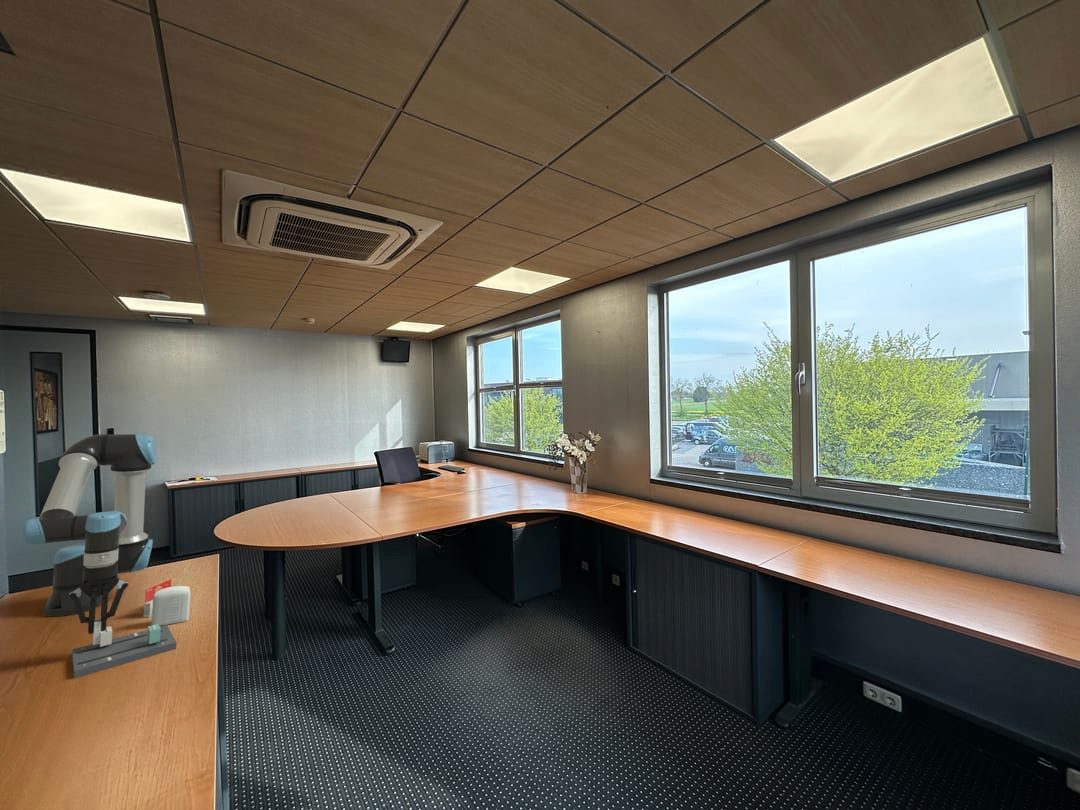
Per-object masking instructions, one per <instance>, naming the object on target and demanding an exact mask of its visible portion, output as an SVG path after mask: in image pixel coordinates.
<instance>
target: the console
mask: <svg viewBox="0 0 1080 810" xmlns="http://www.w3.org/2000/svg"><path fill="white" fill-rule="evenodd" d="M160 628H161V631H160V641H159V642H156V643H152V644H149V642H148V640H147V634H148V629H145V630H141V631H137V632H135V633H134V632H133V633H129V634H126V635H122V636H119V637H115V638H112V644H109V645H105V646H102V647H100V644H96V645H93V643H92V644H87V645H84V646H83V645H82V646H80V647H76V648H72V649H71V663H72V670H73V671H72V672H73V679H77V678H81V677H84V676H87V675H91V674H94V673H97V672H101V671H104V670H108V669H111V668H115V667H118V666H122V665H125V664H128V663H131V662H136V661H139V660H142V659H145V658H148V657H152V656H156V655H159V654H162V653H166V652H169V651H173V650H176V649H177V640H176V638H175V637H174V635H173V634H172V633H173V632H171V629H170V628H169V625H168V624H167V625H161V626H160Z"/></svg>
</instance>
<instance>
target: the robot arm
mask: <svg viewBox="0 0 1080 810" xmlns="http://www.w3.org/2000/svg"><path fill="white" fill-rule="evenodd" d="M157 454H158V453H157V447H156V442H155V438H154V437H153V436H151V435H149V434H138V433H137V434H136V433H135V434H134V433H132V434H127V433H126V434H125V433H123V434H118V433H117V434H103V433H102V434H94V435H90V436H86V437H85V438H82V439H80V440H78V441H77V442H74V443H73V444H72V445H70V446H69V448H67V449H66V450H65V451H64V452H63V454H62V455H61V456H60V459H59V461H58V466H59V468H60V469H59V471H58V474H57V476H56V477H55V480H54V482H53V485H52V487H51V489H50V492H49V495H48V497H47V499H46V502H45V504H44V506H43V508H42V511H41V513H40V516H39V517H36V518H31V519H30V518H29V519H28V520H27V521H25V523H24V524H23V527H22V530H21V531H22V534H21V539H22V541H23V543H24V544H26V545H40V544H41V545H44V544H45V545H46V544H53V543H61V542H69V541H81V540H84V541H83V542H77V543H74V544H70V545H66V546H64V547H62V548H59V549H58V550H57V551H56V552H55V554H54V555H55V556H54V559H53V560H54V561H53V563H52V564H53V578H52V590H51V591H52V592H51V593H50V595H49V598H48V599H47V601H46V603H45V605H44V606H43V607H44V609H43V615H44V616H46V617H64V616H65V617H66V616H71V615H76V614H77V615H78V618H79V619H78V620H79V622H80V624H88V626H87V633H88V635H92V644H93V645H96V644H100V635H101V631H104V630H105V629H106V627H107V620H108V619H109V618H112V617H115V616H116V613H117V610H118V607H119V604H120V602H121V598H122V596H123V594H124V591H125V590H126V589H127V587H128V586H129V583H128V581H126V580H125V581H123V580H120V577H119V576H118V575H119V574H121V575H122V574H128V573H130V574H132V573H134V572H140V571H143V570H145V569H146V568H147V567H148V564H149V560H150V556H151V553H152V548H153V543H154V542H153V541H154V540H153V539H152V538H151V539H150V538H149V534H147V533H146V532H144V526H145V525H144V523H145V500H146V496H145V495H146V477H147V472H149V471H150V470H152V465H155V464H157V460H158V459H157V458H158V457H157ZM98 466H99V467H100V466H110V470H109V471H110V472H111V473H113V474H114V475H115V481H114V507H113V509H114V510H111V511H102V512H101V511H100V512H99V511H98V512H95V513H91V514H84V515H76V514H77V511H78V508H79V505H80V504H81V500H82V497H83V495H84V492H85V489H86V487H87V484H88V481H89V478H90V475H91V472H93V471H94V470H96V468H97V467H98ZM115 587H116V588H117V590H116V592H115V595H114V598H113V601H112V603H111V605H110V607H109V611H108V602H109V601H108V600H109V594H110V593H111V591H113V590H114V588H115ZM97 607H100V618H97V619H96V608H97ZM85 612H88V616H86V613H85Z"/></svg>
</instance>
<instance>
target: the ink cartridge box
mask: <svg viewBox="0 0 1080 810" xmlns="http://www.w3.org/2000/svg"><path fill="white" fill-rule="evenodd" d="M158 587H161V588H159V589H157V588H158ZM168 587H172V578H171V579H167V580H166V581H163V582H161V583H158V584H156V585H154V586H152V587H149V588H146V589H145V590H144V606H143V607H144V608H143V616H142V617H143V618H148V619H149V618H152V608H153V597H154V595H155V593H156V591H159V590H161V589H164V588H168ZM156 589H157V590H156Z"/></svg>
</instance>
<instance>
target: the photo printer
mask: <svg viewBox="0 0 1080 810" xmlns="http://www.w3.org/2000/svg"><path fill="white" fill-rule="evenodd" d="M160 589H161V588H160ZM158 590H159V589H158ZM155 591H156V590H155ZM191 595H192V594H191V589H190V586H185V585H176V586H175V585H174V586H171V587H168V588H164V589H161V590H159V591H156V593H155V595H154V597H153V608H152V617H151V623H150V626H152V625H156V624H159V626H160V627H161V626H165V625H167V626H168V625H172V624H173V625H174V624H178V623H183V622H188V621H189V619H190V607H191Z"/></svg>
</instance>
